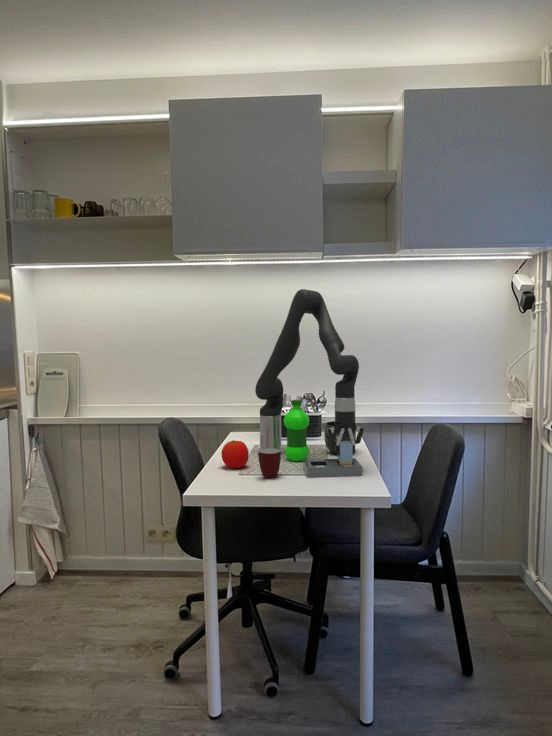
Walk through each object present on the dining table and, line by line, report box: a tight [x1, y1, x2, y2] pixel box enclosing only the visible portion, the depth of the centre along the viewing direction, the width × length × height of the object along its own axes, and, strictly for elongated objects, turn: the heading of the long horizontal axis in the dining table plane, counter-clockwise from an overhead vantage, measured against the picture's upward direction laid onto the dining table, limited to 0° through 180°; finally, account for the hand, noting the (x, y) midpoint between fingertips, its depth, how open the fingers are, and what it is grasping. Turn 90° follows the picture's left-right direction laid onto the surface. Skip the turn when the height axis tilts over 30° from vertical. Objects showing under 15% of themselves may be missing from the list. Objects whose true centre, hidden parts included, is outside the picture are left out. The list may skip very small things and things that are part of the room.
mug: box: [258, 448, 282, 480], centre depth 181 cm, size 10×8×10 cm
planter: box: [323, 420, 357, 456], centre depth 216 cm, size 14×14×13 cm
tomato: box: [220, 439, 249, 469], centre depth 195 cm, size 10×11×11 cm
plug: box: [337, 441, 354, 465], centre depth 185 cm, size 4×4×10 cm
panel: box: [302, 457, 363, 479], centre depth 185 cm, size 20×12×4 cm, turn 94°
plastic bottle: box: [283, 399, 310, 462], centre depth 203 cm, size 10×10×25 cm
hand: (345, 454), depth 185 cm, fingers closed on plug, 4 cm apart
